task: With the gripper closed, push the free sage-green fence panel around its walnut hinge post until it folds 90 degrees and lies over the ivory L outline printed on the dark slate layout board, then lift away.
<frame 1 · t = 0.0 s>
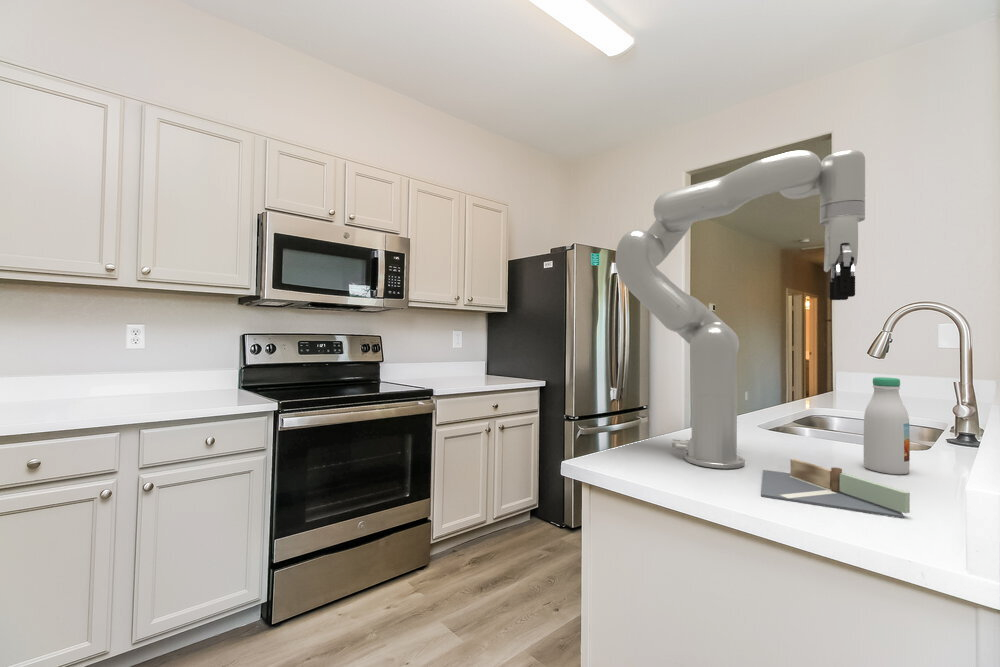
hand: (841, 298, 97), 37 cm above the counter, tool pointing down, fingers open, 9 cm apart
fence hinged panel: (872, 491, 81), point 2 cm above the counter, hinge at 0.0°
layout board: (823, 491, 88), on the counter
milk bottle: (886, 471, 103), on the counter
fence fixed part: (836, 493, 87), resting on layout board
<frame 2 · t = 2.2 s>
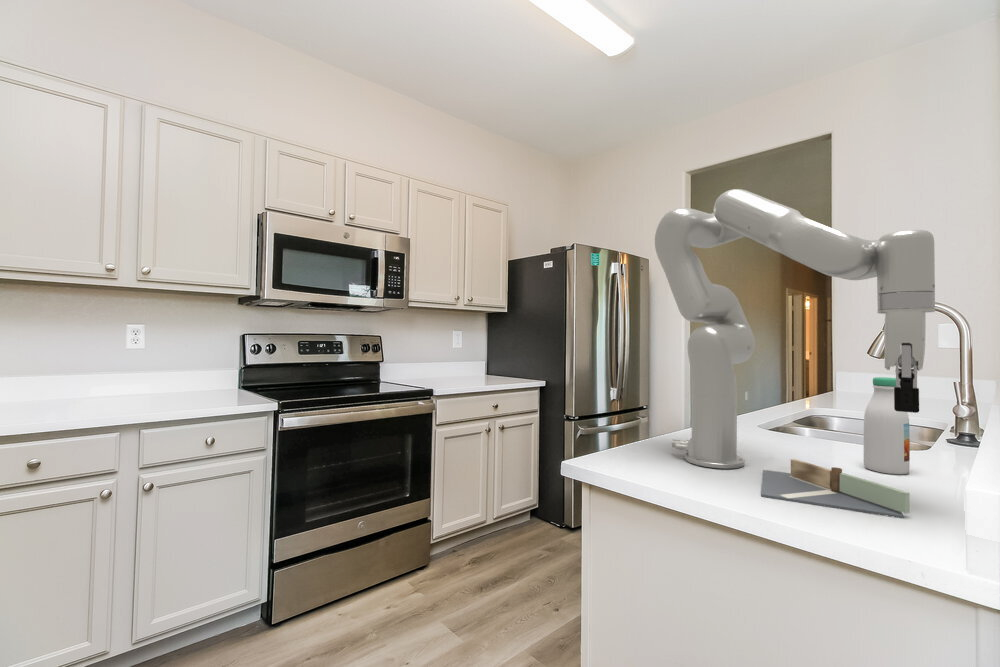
hand: (906, 411, 81), 16 cm above the counter, tool pointing down, fingers closed
nothing on the counter moved.
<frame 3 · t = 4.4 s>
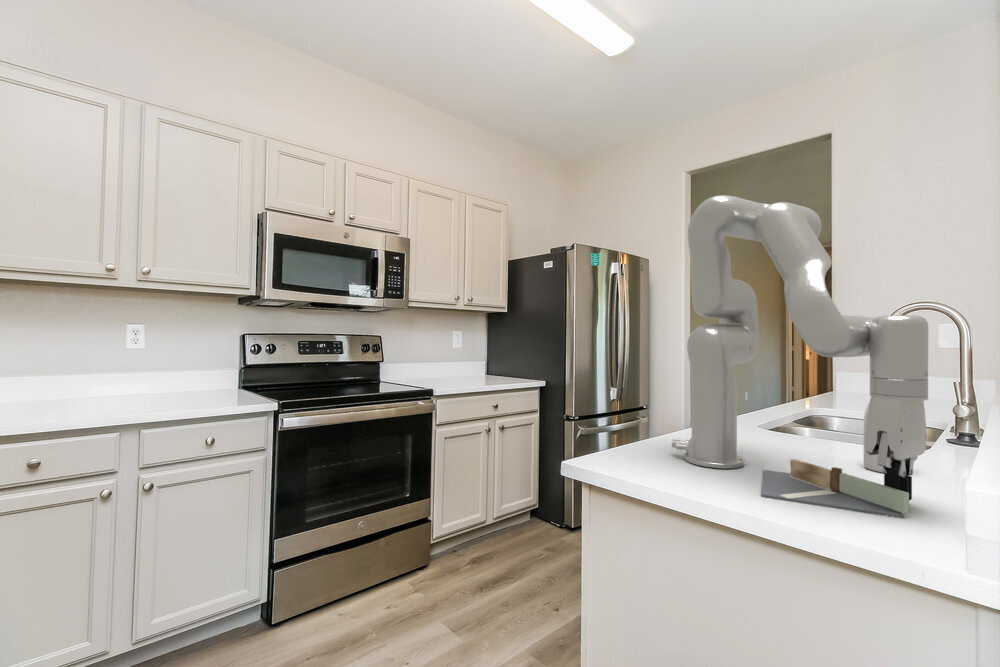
hand: (897, 498, 79), 2 cm above the counter, tool pointing down, fingers closed
fence hinged panel: (871, 491, 81), point 2 cm above the counter, hinge at -0.9°, touching gripper
everything else where it was.
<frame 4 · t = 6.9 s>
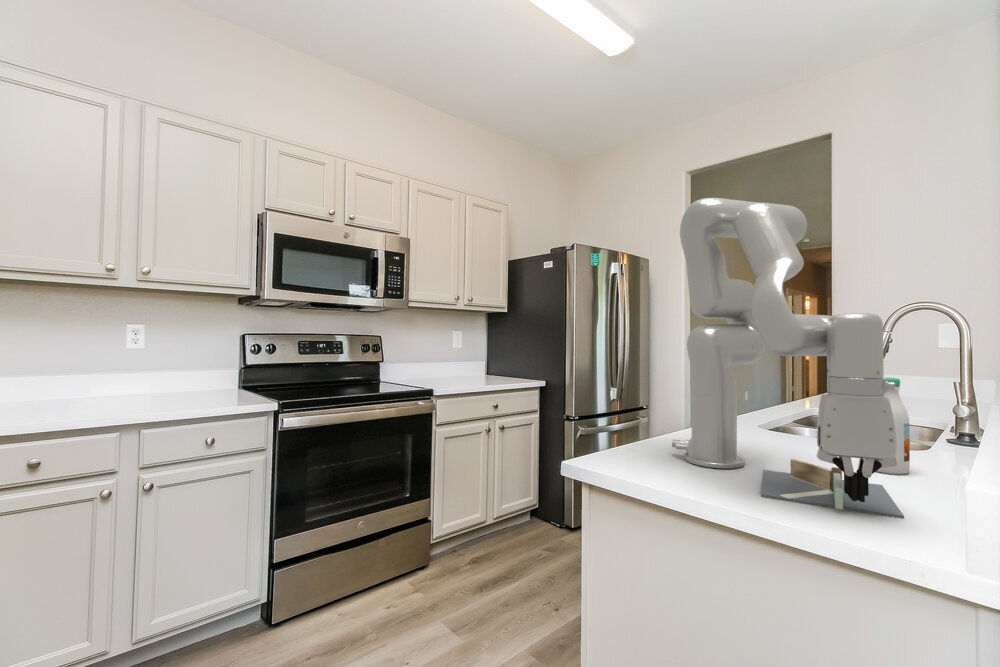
hand: (856, 498, 78), 2 cm above the counter, tool pointing down, fingers closed
fence hinged panel: (837, 490, 82), point 2 cm above the counter, hinge at -48.7°, touching gripper
everything else where it was.
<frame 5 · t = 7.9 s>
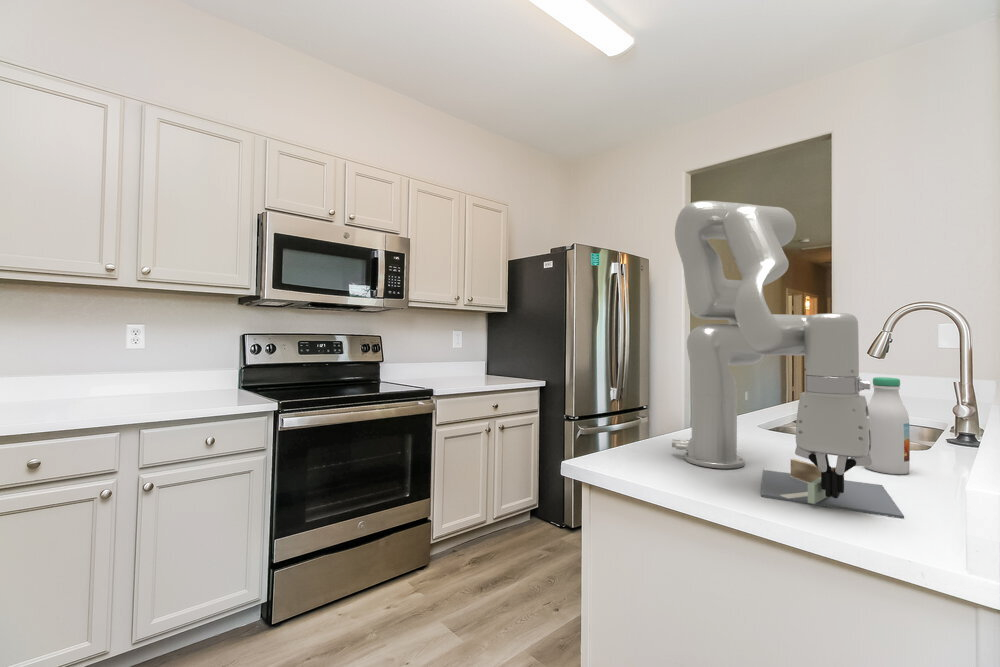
hand: (832, 495, 80), 2 cm above the counter, tool pointing down, fingers closed
fence hinged panel: (823, 487, 83), point 2 cm above the counter, hinge at -67.4°, touching gripper
everything else where it was.
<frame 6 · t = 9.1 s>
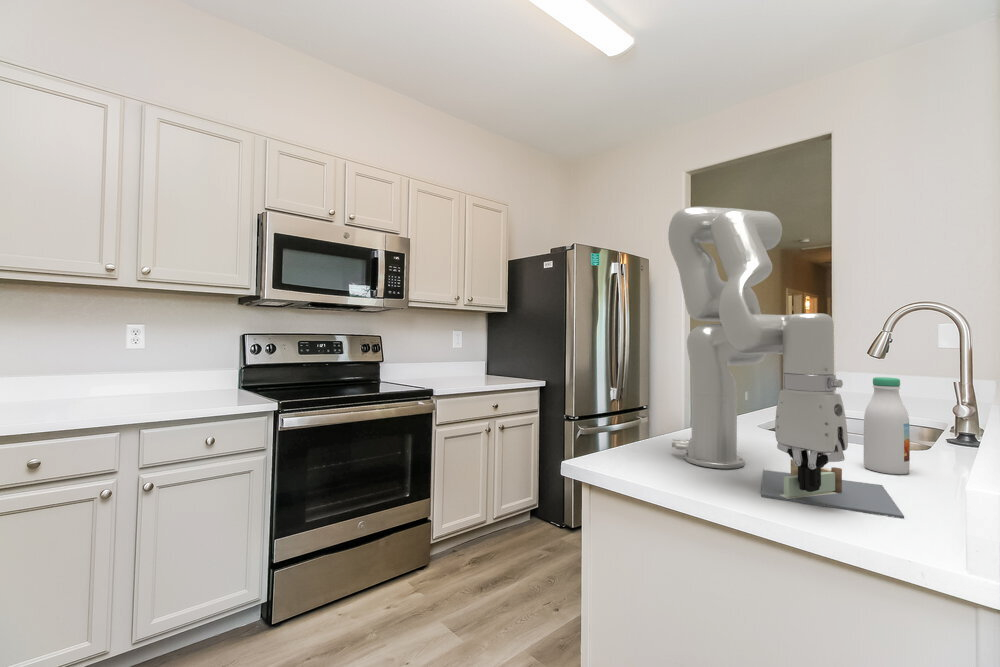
hand: (809, 489, 82), 2 cm above the counter, tool pointing down, fingers closed
fence hinged panel: (809, 483, 85), point 2 cm above the counter, hinge at -87.5°, touching gripper
everything else where it was.
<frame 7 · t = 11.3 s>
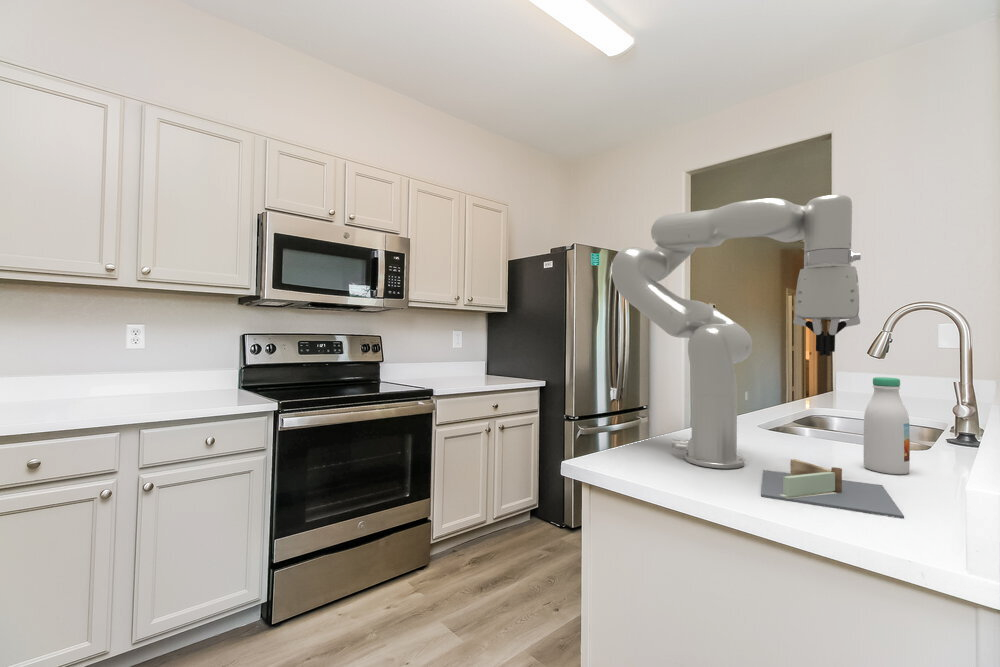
hand: (825, 355, 92), 25 cm above the counter, tool pointing down, fingers closed
fence hinged panel: (809, 483, 85), point 2 cm above the counter, hinge at -88.0°
everything else where it was.
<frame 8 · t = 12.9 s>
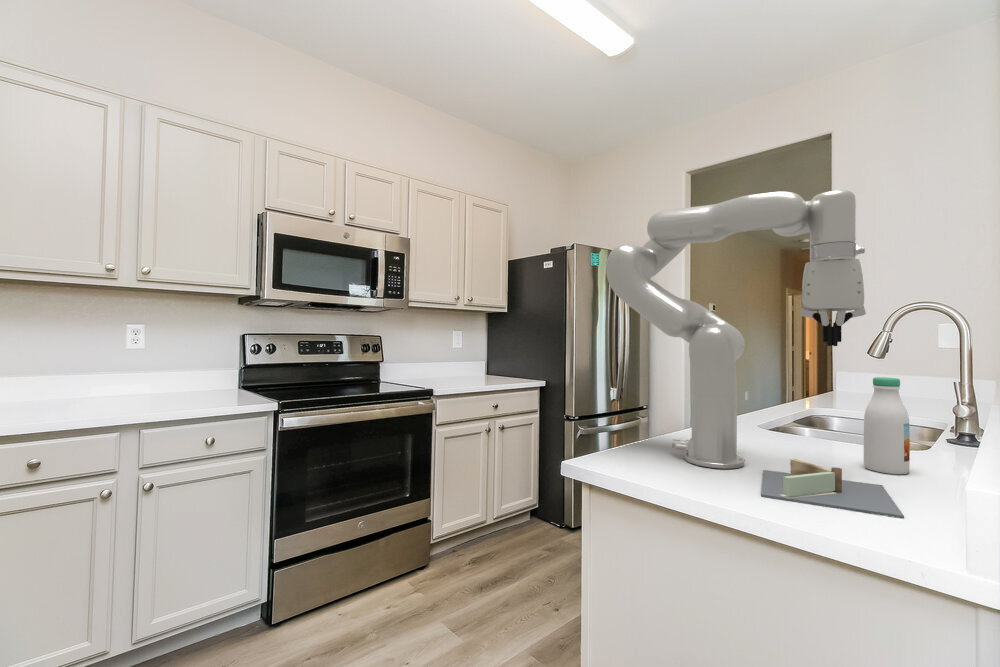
hand: (831, 345, 95), 27 cm above the counter, tool pointing down, fingers closed
nothing on the counter moved.
at the end: fence hinged panel at -88° (first picture: +0°) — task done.
